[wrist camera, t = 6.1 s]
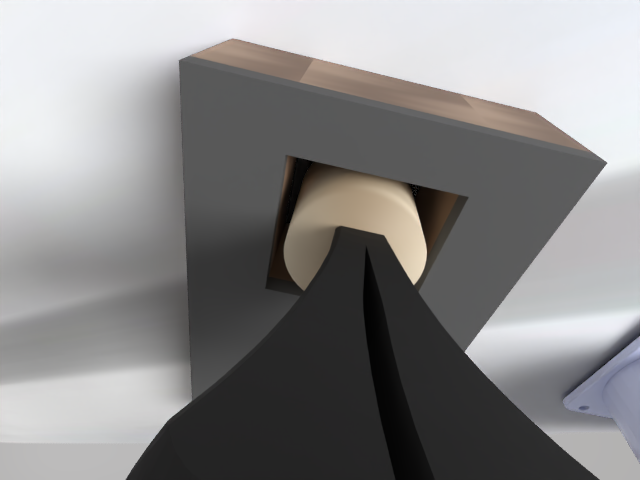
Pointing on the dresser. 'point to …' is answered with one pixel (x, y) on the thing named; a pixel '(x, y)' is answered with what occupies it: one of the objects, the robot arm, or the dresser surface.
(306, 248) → the peg
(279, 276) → the block
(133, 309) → the dresser surface
